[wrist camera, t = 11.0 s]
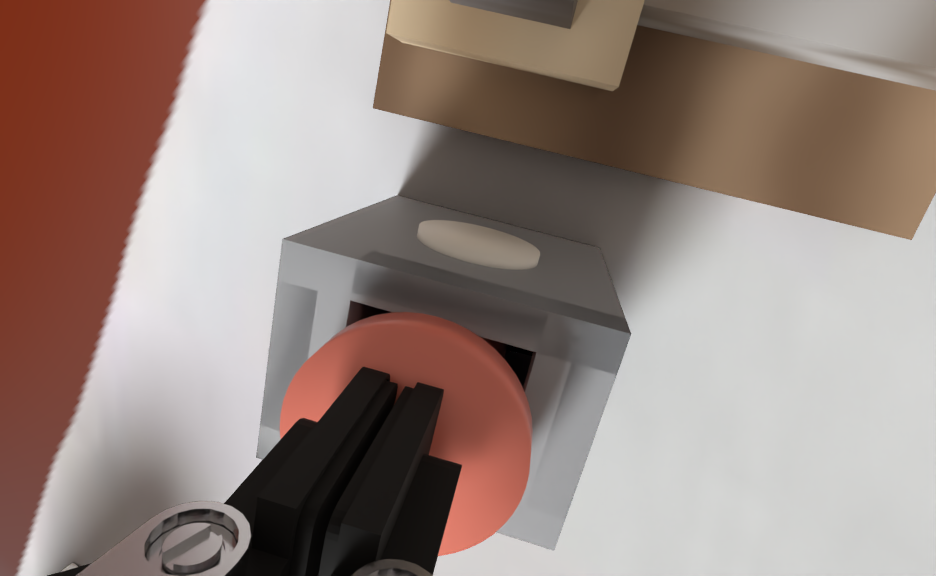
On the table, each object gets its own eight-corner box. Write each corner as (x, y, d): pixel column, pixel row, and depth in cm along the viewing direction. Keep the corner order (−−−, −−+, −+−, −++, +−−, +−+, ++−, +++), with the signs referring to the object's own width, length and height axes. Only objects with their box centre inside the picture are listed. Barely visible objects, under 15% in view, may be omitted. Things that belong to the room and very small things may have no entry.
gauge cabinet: (601, 240, 20) (635, 321, 11) (555, 386, 22) (554, 550, 13) (398, 187, 20) (284, 226, 12) (371, 333, 22) (256, 457, 14)
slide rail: (1047, -105, 15) (1214, -187, 11) (883, 231, 18) (970, 257, 14) (441, -218, 17) (407, -322, 13) (386, 109, 20) (345, 104, 16)
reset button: (560, 281, 16) (563, 372, 10) (516, 429, 17) (494, 587, 11) (393, 236, 16) (296, 297, 10) (365, 385, 18) (267, 514, 12)
